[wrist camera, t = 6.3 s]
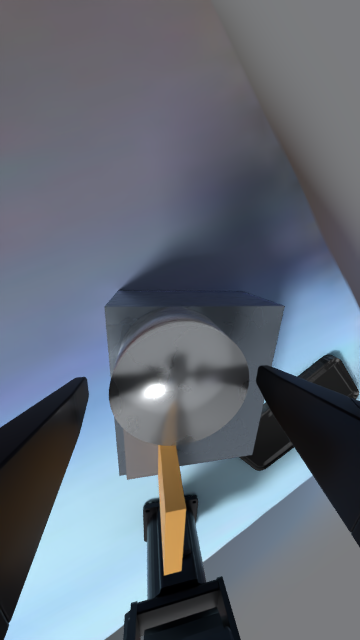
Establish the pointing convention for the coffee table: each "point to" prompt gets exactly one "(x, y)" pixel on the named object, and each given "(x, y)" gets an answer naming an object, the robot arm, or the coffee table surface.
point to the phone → (270, 433)
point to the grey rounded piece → (177, 378)
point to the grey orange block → (161, 493)
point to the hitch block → (239, 325)
